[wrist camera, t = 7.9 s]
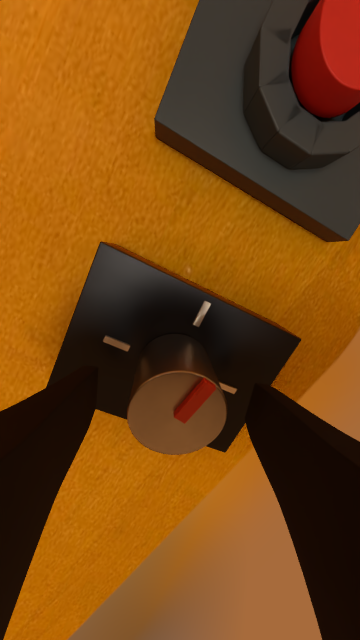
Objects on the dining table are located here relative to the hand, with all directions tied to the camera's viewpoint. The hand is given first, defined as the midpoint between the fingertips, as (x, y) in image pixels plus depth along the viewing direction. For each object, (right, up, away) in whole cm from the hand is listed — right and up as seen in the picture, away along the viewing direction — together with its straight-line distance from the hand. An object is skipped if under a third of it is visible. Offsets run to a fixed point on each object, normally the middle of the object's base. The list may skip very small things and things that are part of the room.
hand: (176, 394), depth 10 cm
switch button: (+6, +14, -1) cm, 15 cm away
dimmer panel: (0, +2, +5) cm, 6 cm away
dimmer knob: (0, +1, +2) cm, 3 cm away
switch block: (+6, +15, +2) cm, 16 cm away
